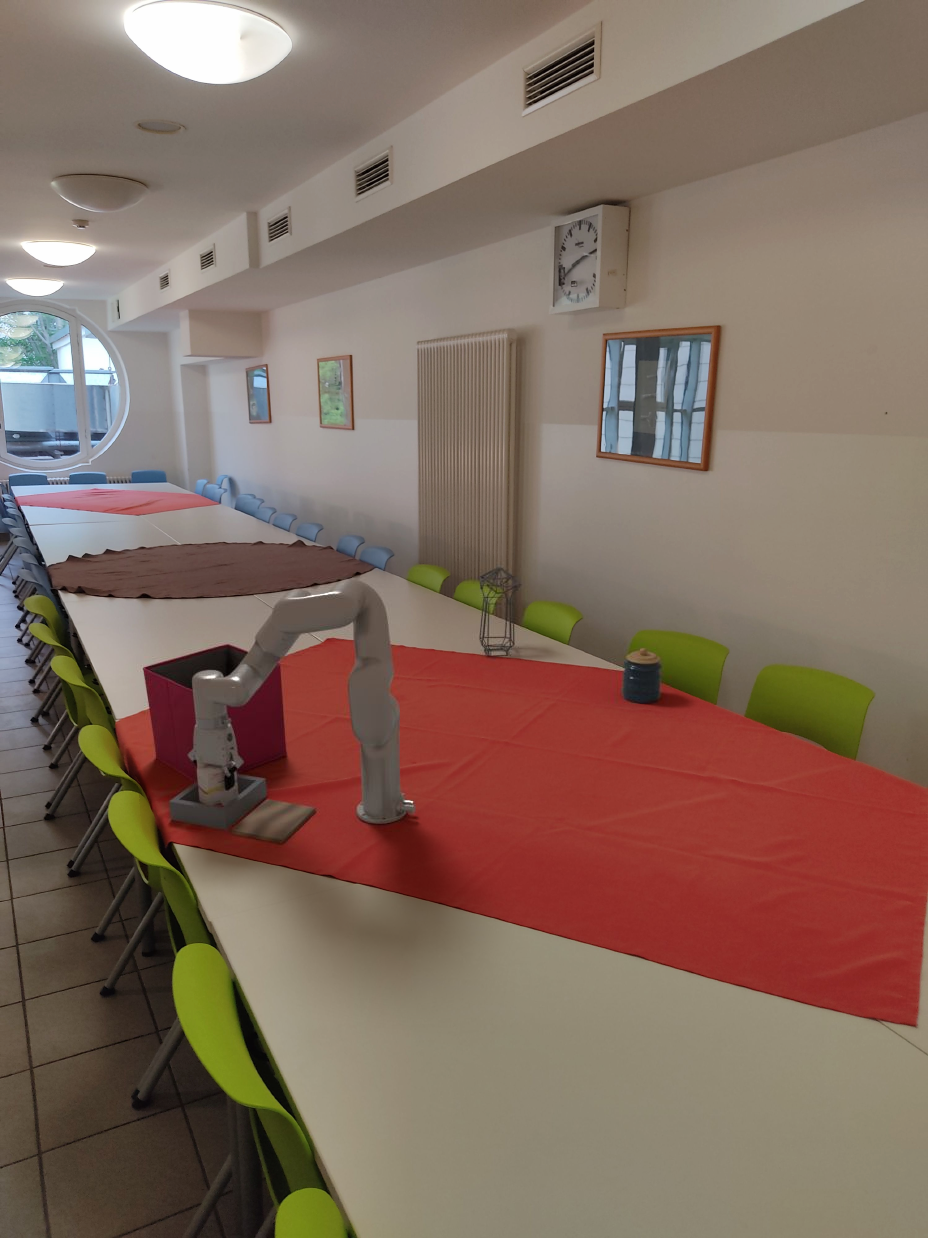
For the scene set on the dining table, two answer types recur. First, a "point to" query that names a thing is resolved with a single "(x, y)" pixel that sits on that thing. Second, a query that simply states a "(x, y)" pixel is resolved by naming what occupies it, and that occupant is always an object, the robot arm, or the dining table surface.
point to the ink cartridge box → (214, 785)
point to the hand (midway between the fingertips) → (218, 785)
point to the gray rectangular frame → (194, 812)
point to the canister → (642, 677)
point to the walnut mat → (273, 821)
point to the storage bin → (251, 722)
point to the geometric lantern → (491, 573)
